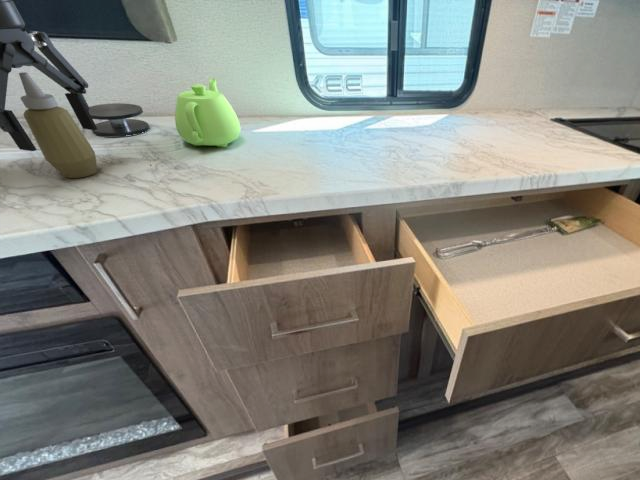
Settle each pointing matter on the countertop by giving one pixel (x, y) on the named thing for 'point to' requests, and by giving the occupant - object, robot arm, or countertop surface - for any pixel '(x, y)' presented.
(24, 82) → the squeeze bottle
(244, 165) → the countertop surface
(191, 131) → the teapot
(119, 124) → the stand
